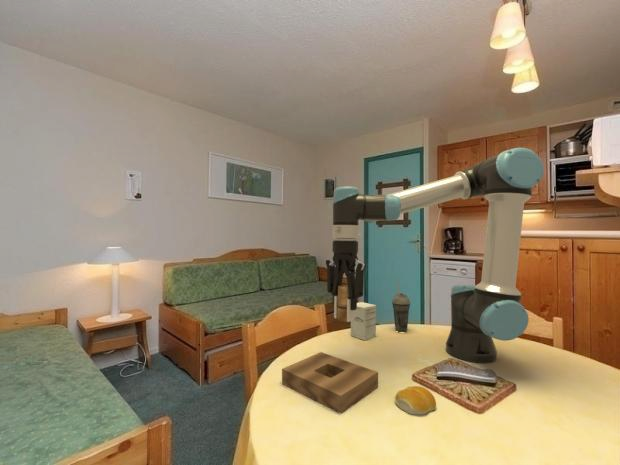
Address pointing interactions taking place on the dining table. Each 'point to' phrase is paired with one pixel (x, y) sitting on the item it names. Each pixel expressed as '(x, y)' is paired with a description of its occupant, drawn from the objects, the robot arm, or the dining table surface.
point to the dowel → (342, 302)
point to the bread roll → (415, 400)
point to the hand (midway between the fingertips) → (344, 318)
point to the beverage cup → (401, 311)
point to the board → (330, 380)
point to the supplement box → (364, 321)
